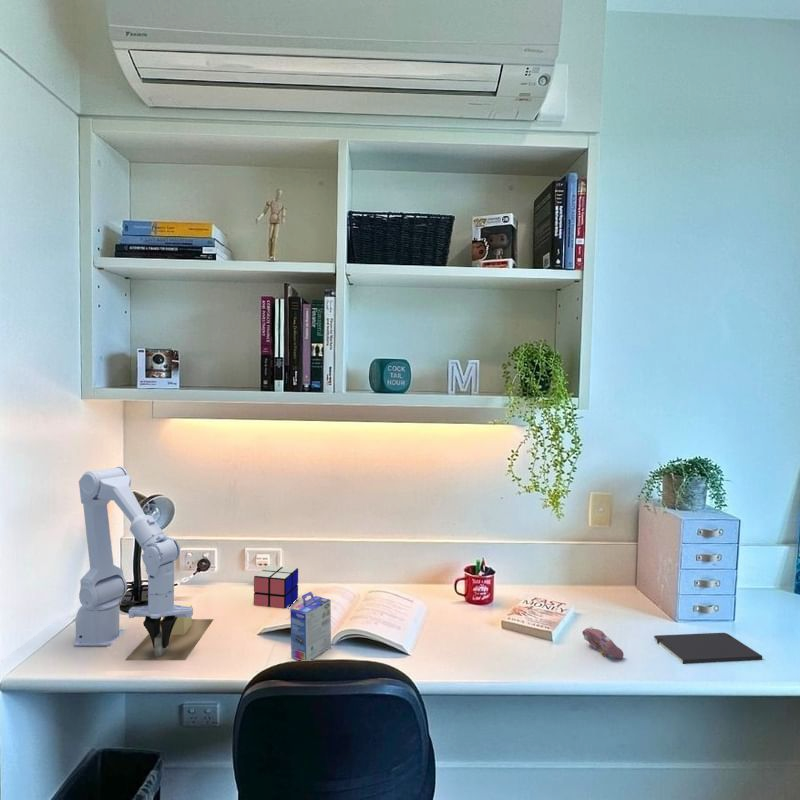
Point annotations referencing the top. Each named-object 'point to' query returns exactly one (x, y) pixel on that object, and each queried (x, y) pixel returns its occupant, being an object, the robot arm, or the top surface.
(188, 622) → the block
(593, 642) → the reddish brown lumpy piece
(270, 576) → the puzzle cube
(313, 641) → the ink cartridge box
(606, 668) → the top surface
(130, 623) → the top surface
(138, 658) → the tan flat slab
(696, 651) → the notebook
